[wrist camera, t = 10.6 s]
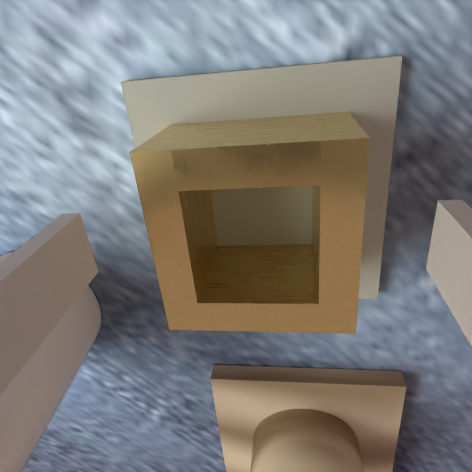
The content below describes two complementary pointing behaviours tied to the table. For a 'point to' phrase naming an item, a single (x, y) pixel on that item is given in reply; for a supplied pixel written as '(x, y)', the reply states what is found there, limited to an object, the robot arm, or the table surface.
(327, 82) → the felt mat
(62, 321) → the candle holder
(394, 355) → the table surface
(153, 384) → the table surface
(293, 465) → the stand
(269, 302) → the square wooden frame
